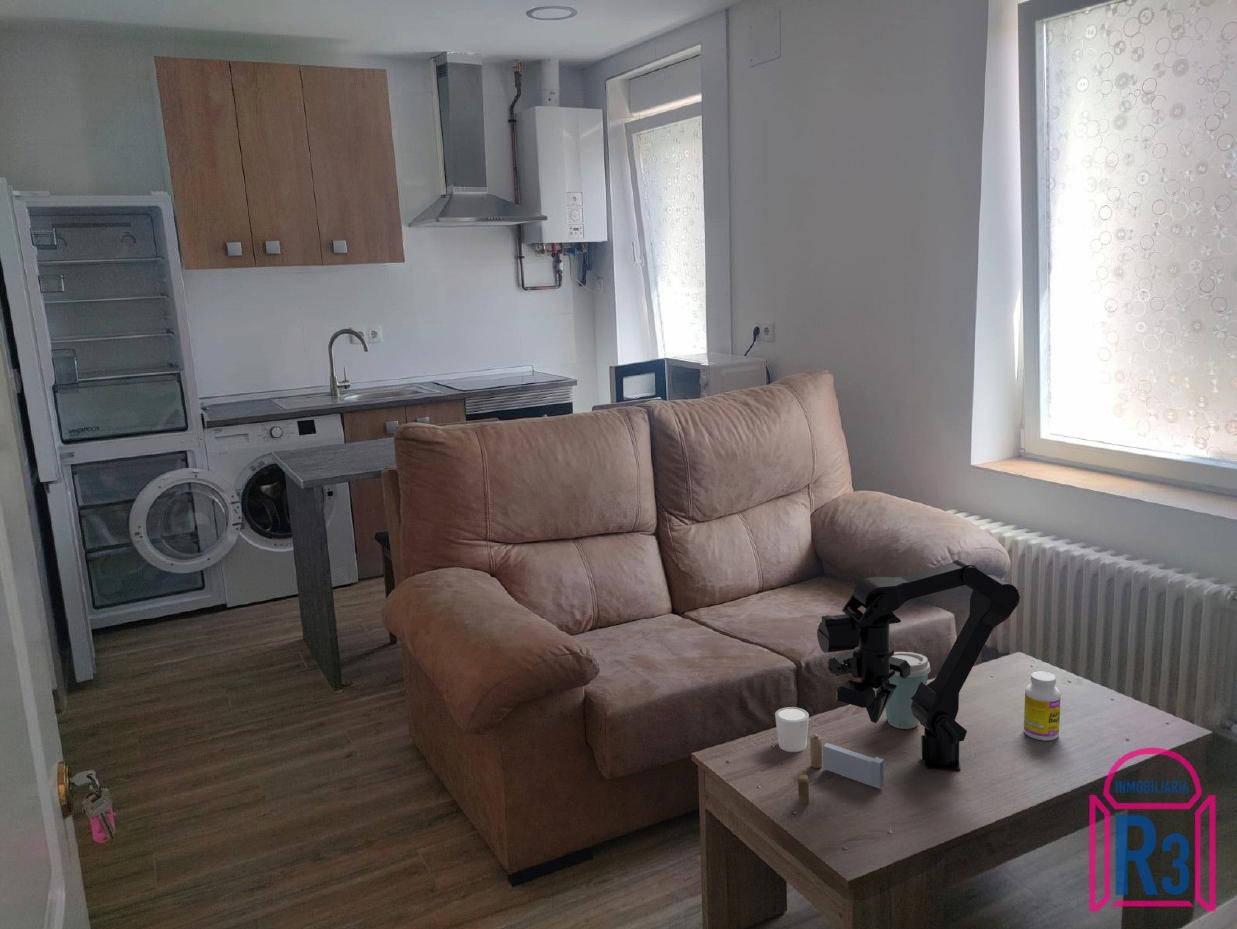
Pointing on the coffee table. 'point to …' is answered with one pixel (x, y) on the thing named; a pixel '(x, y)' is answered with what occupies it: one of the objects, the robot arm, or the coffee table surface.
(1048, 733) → the supplement bottle
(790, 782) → the coffee table surface
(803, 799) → the brown rectangular block
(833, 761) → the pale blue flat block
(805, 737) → the white cup
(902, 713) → the disposable coffee cup
